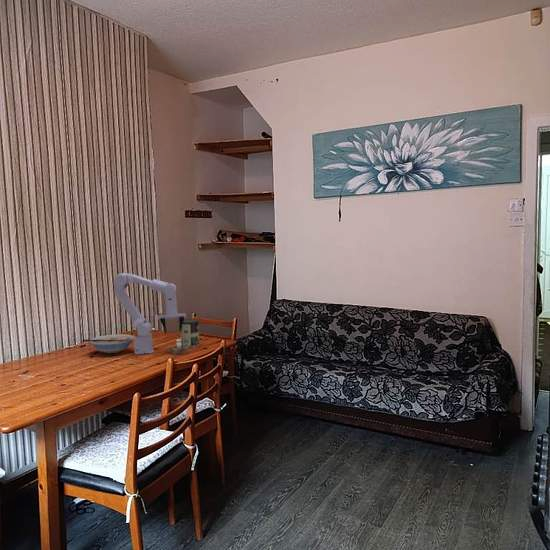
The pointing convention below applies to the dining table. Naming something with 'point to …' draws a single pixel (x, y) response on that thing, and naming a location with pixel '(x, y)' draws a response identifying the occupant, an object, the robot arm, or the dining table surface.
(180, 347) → the white banded cylinder
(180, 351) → the square wooden frame
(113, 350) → the ramen bowl
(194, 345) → the coffee can
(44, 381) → the dining table surface
